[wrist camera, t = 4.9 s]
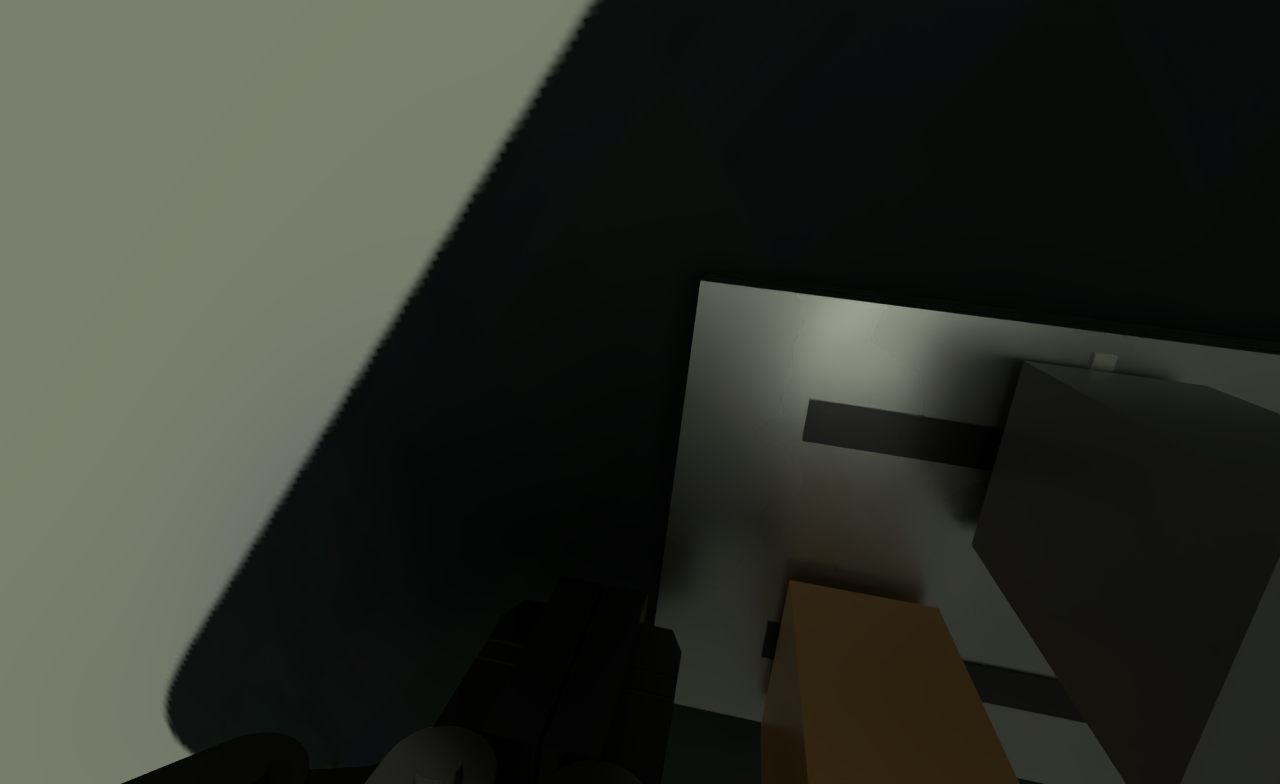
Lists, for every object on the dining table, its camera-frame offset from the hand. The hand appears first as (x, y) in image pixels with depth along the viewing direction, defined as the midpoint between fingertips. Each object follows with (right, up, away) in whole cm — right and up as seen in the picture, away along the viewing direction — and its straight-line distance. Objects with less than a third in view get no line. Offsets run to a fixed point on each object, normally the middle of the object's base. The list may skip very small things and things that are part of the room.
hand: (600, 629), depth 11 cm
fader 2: (+7, +3, -2) cm, 8 cm away
